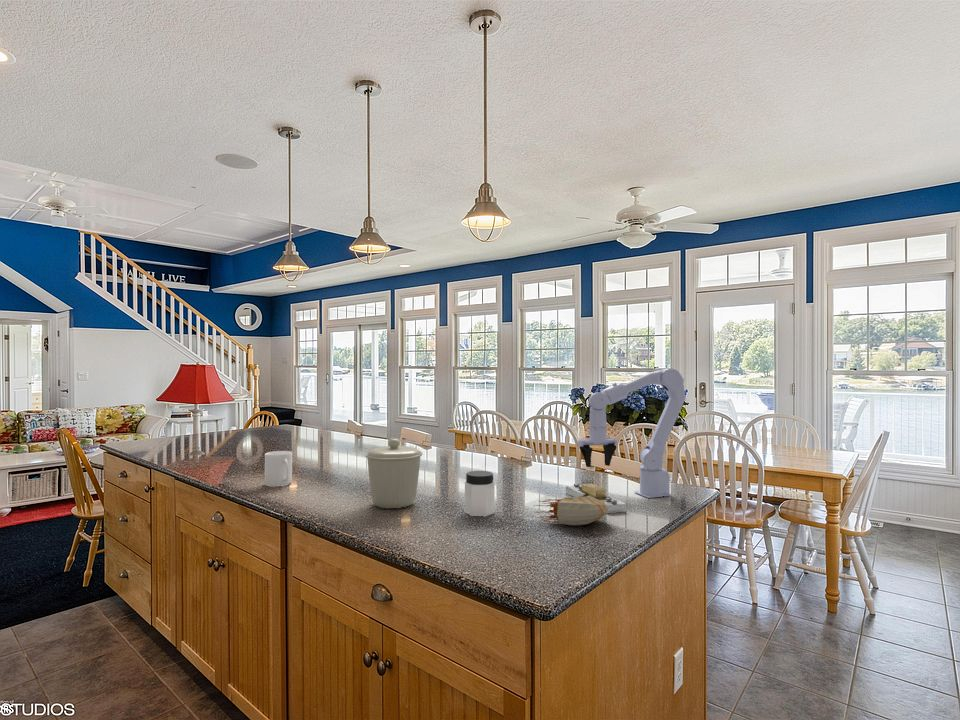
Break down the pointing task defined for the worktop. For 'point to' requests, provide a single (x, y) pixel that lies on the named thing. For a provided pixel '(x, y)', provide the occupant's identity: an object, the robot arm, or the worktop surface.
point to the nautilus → (575, 510)
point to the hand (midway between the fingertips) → (597, 465)
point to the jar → (479, 493)
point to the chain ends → (610, 502)
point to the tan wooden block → (594, 491)
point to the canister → (393, 474)
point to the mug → (278, 468)
